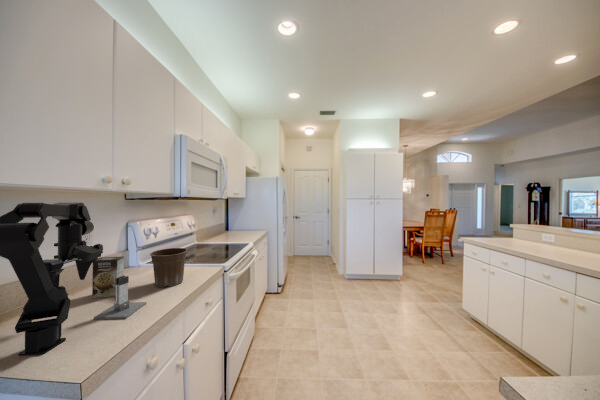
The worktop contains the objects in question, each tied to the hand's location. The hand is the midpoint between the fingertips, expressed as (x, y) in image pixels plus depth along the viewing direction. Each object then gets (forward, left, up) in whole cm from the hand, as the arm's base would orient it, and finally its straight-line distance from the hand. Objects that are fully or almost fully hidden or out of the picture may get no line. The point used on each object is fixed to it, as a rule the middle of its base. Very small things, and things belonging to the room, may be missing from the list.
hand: (69, 284), depth 75 cm
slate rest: (+7, -12, -13) cm, 19 cm away
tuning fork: (+7, -12, -12) cm, 18 cm away
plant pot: (+35, -15, -13) cm, 40 cm away
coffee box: (+23, +5, -13) cm, 27 cm away
